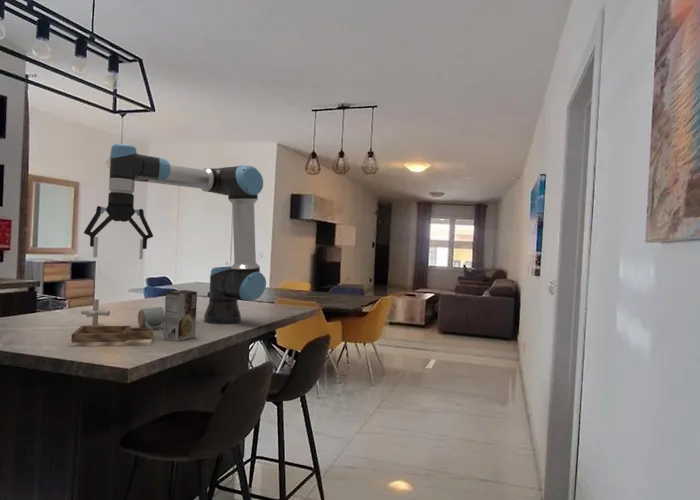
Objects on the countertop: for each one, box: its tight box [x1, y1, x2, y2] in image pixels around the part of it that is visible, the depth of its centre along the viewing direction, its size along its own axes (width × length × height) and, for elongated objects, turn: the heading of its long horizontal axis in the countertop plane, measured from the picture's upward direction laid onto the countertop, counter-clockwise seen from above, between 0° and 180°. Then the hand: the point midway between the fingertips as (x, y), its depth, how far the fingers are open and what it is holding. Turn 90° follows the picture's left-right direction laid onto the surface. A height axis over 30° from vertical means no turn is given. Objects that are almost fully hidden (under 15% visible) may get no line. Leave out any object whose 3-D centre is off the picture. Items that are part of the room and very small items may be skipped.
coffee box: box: [163, 289, 198, 342], centre depth 171 cm, size 9×6×16 cm
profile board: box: [68, 325, 155, 347], centre depth 162 cm, size 23×17×4 cm
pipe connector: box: [80, 298, 111, 326], centre depth 186 cm, size 10×10×10 cm
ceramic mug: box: [137, 306, 165, 331], centre depth 188 cm, size 11×8×8 cm
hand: (118, 258), depth 162 cm, fingers open, 13 cm apart
